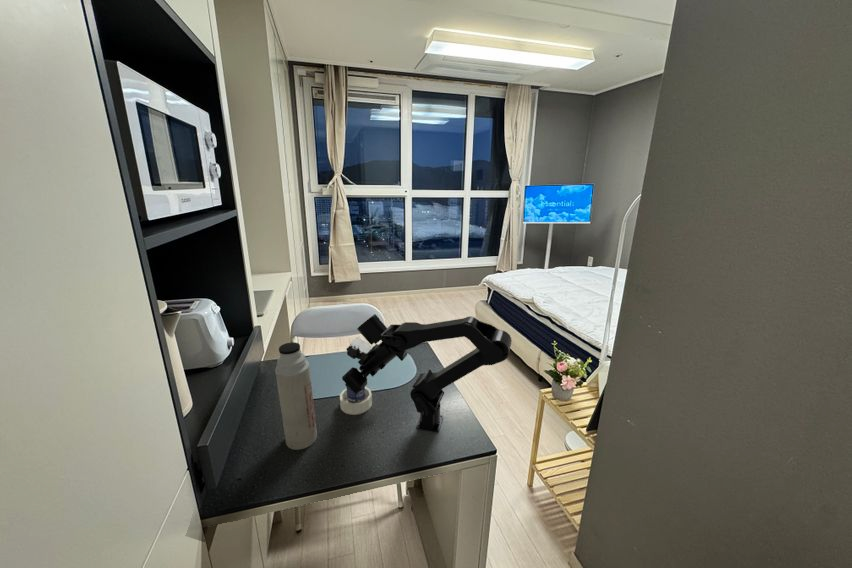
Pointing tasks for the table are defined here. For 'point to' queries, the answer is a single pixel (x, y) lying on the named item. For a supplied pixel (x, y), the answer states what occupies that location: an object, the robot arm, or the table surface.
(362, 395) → the pill bottle
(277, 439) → the table surface
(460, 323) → the robot arm
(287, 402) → the thermos bottle
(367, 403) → the bowl
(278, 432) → the table surface
